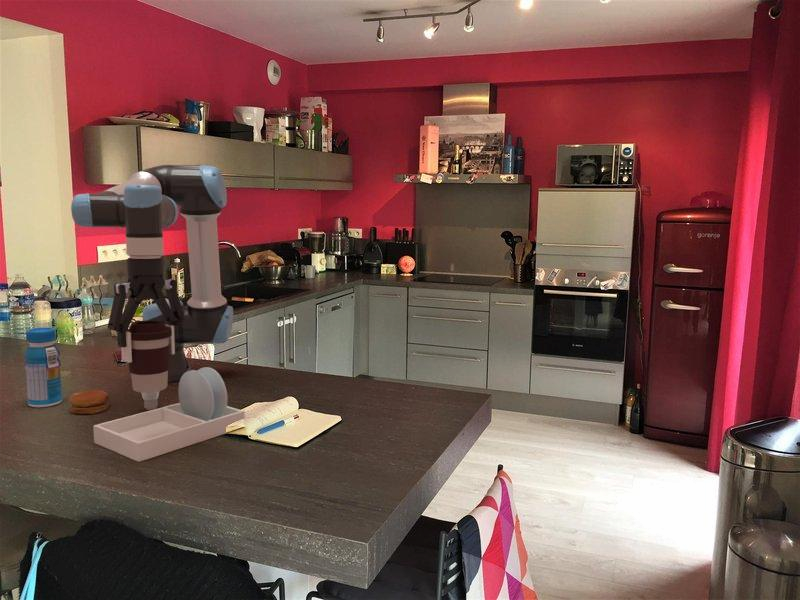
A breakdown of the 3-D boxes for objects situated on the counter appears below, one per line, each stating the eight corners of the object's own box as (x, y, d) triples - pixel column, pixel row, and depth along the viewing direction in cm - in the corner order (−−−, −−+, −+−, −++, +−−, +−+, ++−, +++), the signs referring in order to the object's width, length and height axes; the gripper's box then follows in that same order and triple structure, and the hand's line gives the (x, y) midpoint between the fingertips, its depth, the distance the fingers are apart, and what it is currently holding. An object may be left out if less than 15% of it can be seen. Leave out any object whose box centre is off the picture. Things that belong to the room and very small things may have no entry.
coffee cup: (183, 386, 149) (181, 321, 146) (149, 397, 140) (147, 328, 138) (150, 380, 153) (147, 317, 151) (116, 391, 144) (112, 324, 142)
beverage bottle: (26, 409, 168) (21, 333, 165) (27, 401, 176) (22, 327, 173) (63, 405, 172) (58, 331, 169) (62, 397, 180) (58, 325, 177)
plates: (194, 413, 164) (193, 363, 163) (228, 424, 157) (226, 371, 155) (179, 418, 161) (177, 366, 159) (212, 429, 153) (211, 375, 151)
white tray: (199, 412, 168) (199, 397, 168) (244, 427, 158) (244, 411, 157) (94, 442, 146) (93, 425, 146) (138, 461, 136) (138, 443, 135)
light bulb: (171, 408, 171) (169, 363, 170) (153, 416, 165) (151, 370, 163) (149, 405, 174) (147, 361, 172) (130, 413, 167) (128, 367, 165)
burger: (107, 413, 167) (106, 396, 166) (67, 417, 164) (65, 399, 163) (111, 402, 176) (110, 386, 175) (73, 405, 173) (72, 388, 172)
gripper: (179, 253, 153) (182, 346, 156) (85, 258, 135) (90, 363, 138) (199, 255, 149) (202, 351, 152) (105, 260, 131) (110, 369, 134)
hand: (149, 357), depth 145 cm, fingers closed on coffee cup, 10 cm apart
